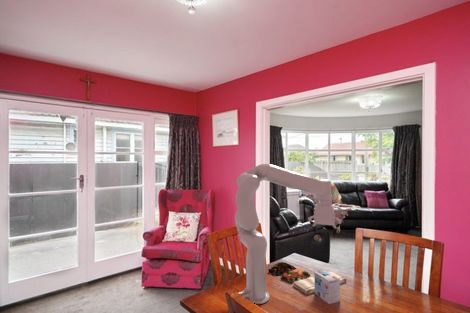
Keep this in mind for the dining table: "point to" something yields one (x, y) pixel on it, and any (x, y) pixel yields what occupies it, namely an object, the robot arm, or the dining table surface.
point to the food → (288, 272)
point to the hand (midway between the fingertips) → (324, 234)
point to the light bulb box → (327, 286)
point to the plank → (312, 283)
